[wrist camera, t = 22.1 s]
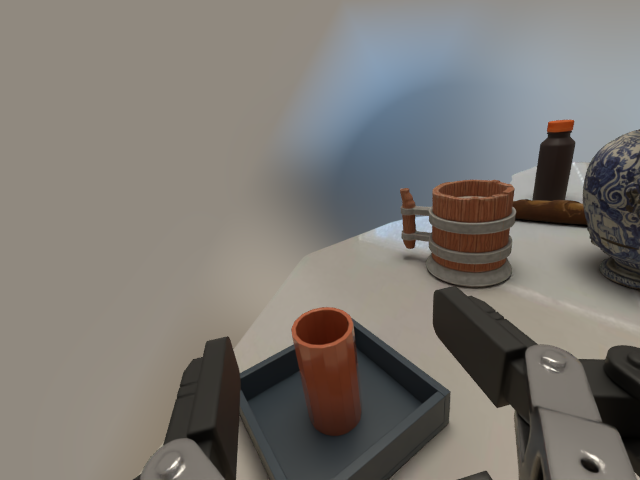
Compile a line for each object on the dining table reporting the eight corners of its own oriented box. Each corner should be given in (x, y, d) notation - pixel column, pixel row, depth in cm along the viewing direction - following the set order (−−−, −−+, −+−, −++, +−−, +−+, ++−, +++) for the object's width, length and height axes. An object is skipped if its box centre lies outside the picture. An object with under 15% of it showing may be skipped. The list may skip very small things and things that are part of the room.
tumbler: (328, 448, 29) (312, 358, 24) (299, 406, 33) (281, 324, 29) (373, 413, 31) (365, 327, 27) (340, 379, 36) (329, 300, 31)
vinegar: (537, 197, 85) (549, 120, 77) (567, 200, 80) (583, 118, 72) (528, 204, 81) (539, 123, 73) (559, 208, 76) (574, 122, 68)
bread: (671, 227, 60) (679, 202, 58) (677, 236, 56) (686, 211, 54) (463, 210, 83) (464, 192, 81) (458, 216, 79) (459, 198, 77)
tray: (305, 555, 23) (296, 523, 21) (236, 407, 35) (227, 379, 33) (449, 422, 30) (450, 391, 29) (350, 340, 43) (347, 314, 41)
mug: (504, 297, 47) (516, 202, 41) (387, 272, 58) (383, 195, 52) (516, 258, 57) (527, 177, 51) (415, 243, 68) (414, 176, 62)
